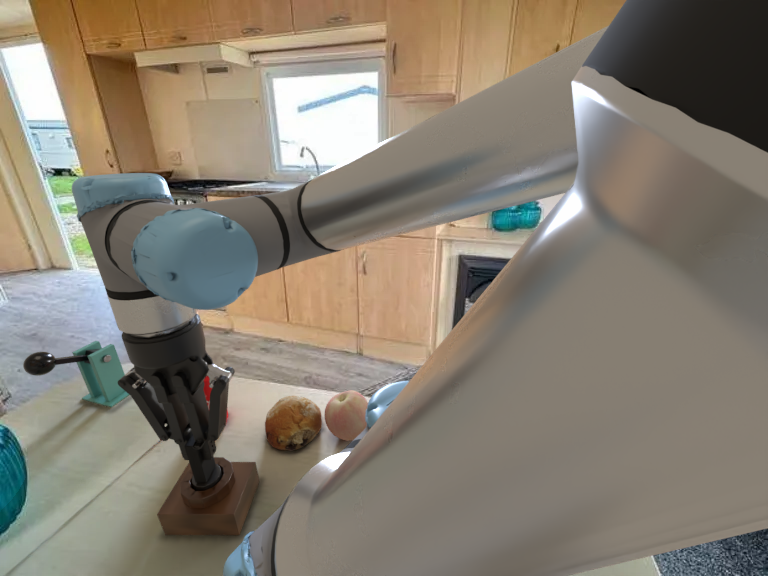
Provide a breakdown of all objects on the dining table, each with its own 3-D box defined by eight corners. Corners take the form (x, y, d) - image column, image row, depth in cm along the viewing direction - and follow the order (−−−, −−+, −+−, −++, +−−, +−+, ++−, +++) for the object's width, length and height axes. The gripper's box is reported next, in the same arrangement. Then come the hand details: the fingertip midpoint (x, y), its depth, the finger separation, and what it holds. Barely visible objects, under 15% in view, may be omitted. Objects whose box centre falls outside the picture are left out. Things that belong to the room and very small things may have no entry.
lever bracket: (112, 411, 68) (92, 360, 64) (83, 402, 70) (61, 353, 66) (140, 391, 73) (123, 343, 69) (112, 384, 76) (94, 337, 71)
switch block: (259, 481, 54) (253, 452, 51) (239, 535, 46) (231, 505, 44) (195, 481, 54) (186, 452, 51) (165, 535, 46) (152, 504, 44)
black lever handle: (31, 379, 57) (35, 355, 57) (15, 375, 58) (18, 351, 58) (110, 366, 69) (112, 346, 69) (95, 363, 70) (98, 343, 70)
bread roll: (327, 433, 67) (329, 391, 67) (311, 457, 57) (313, 407, 57) (277, 430, 68) (279, 388, 68) (252, 452, 58) (255, 403, 58)
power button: (227, 472, 50) (225, 463, 49) (216, 495, 47) (213, 486, 46) (202, 472, 50) (199, 463, 49) (189, 495, 47) (186, 486, 46)
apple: (357, 411, 67) (355, 377, 64) (379, 436, 62) (378, 400, 59) (319, 428, 63) (315, 393, 60) (339, 457, 58) (336, 420, 54)
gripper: (234, 306, 42) (262, 451, 51) (126, 306, 42) (174, 450, 51) (203, 338, 35) (242, 499, 44) (74, 339, 35) (140, 499, 44)
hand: (205, 473), depth 48 cm, fingers closed
